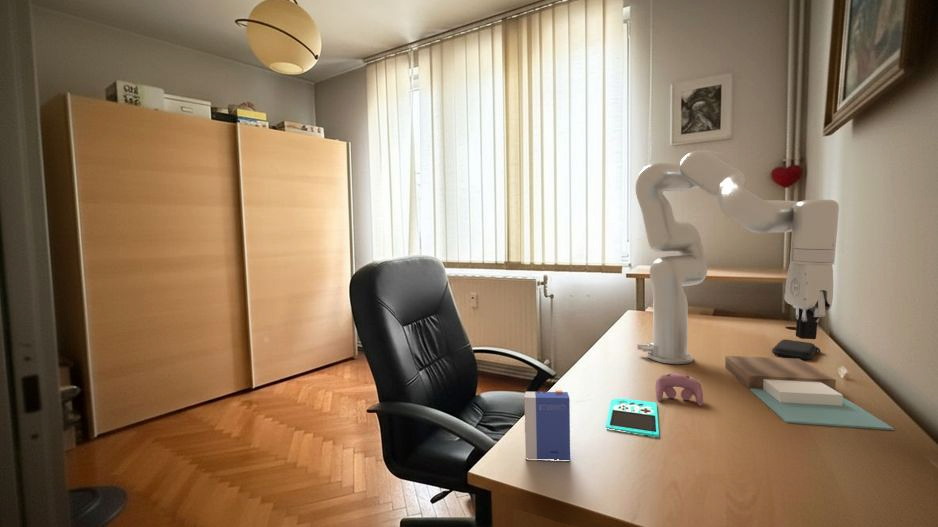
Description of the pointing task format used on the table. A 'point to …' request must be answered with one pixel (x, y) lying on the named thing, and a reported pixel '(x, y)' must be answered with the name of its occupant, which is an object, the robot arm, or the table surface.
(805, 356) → the carrying case or bag
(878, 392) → the table surface
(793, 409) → the mat
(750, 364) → the brown wooden flat block
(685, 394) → the video game controller
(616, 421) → the handheld game console
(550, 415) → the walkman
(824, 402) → the box
